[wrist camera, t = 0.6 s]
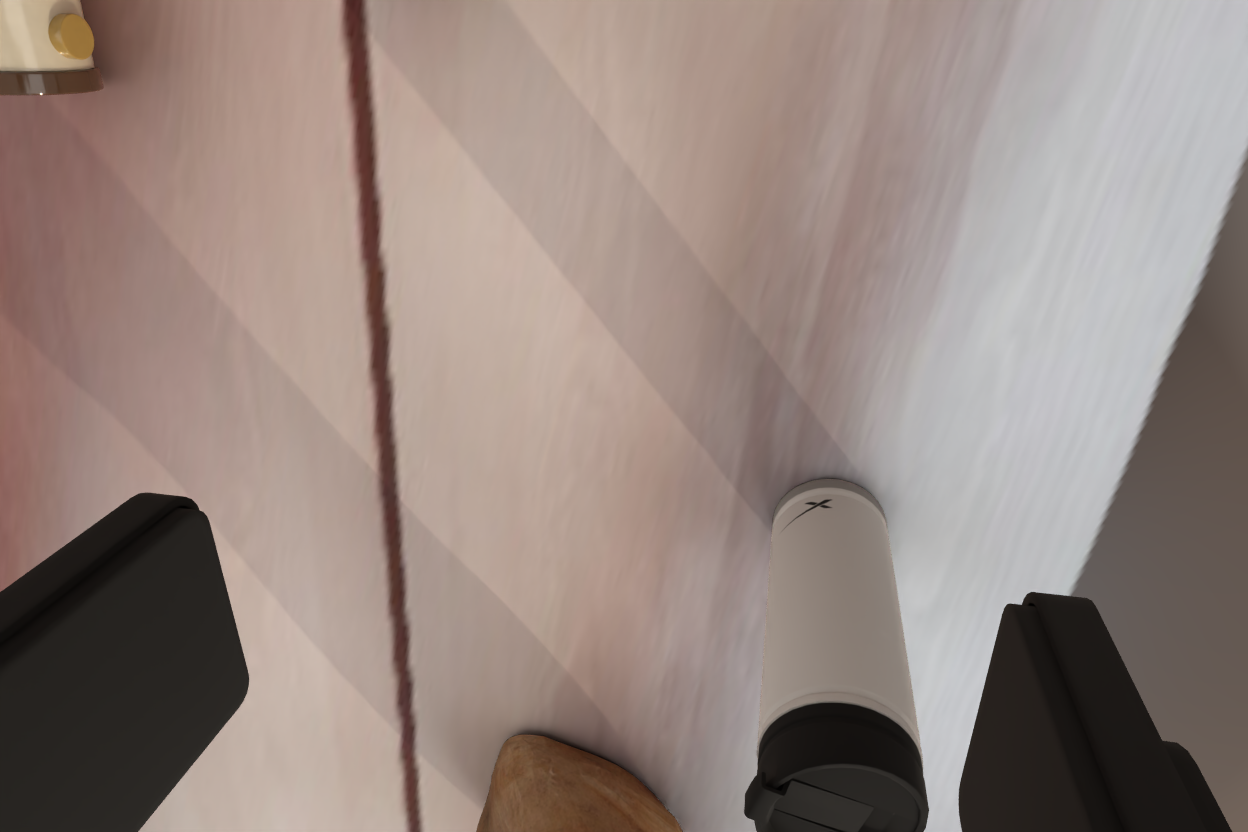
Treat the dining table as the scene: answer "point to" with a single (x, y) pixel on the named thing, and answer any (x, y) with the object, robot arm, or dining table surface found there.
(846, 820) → the travel mug
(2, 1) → the jar
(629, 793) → the ceramic vessel
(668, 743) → the dining table surface
